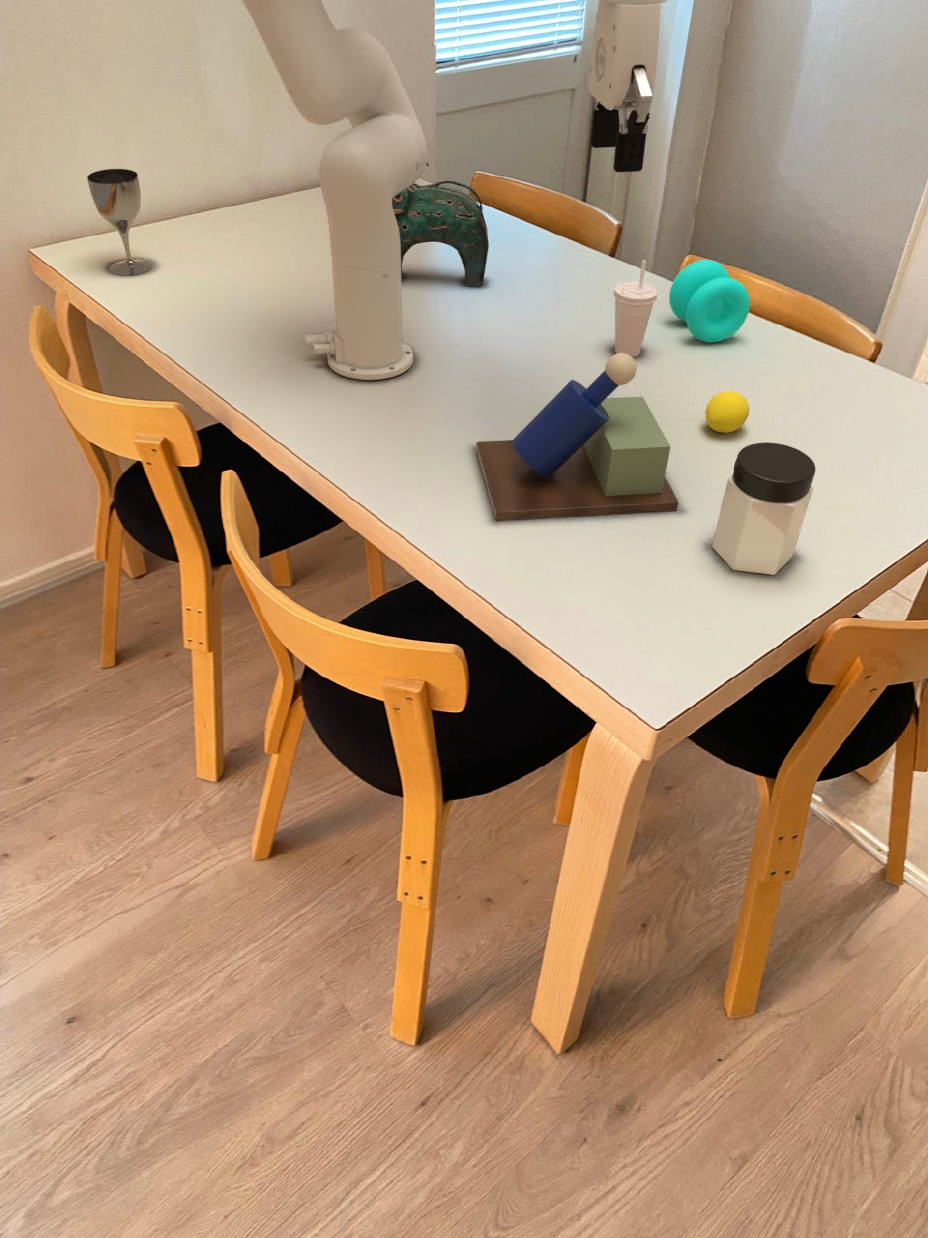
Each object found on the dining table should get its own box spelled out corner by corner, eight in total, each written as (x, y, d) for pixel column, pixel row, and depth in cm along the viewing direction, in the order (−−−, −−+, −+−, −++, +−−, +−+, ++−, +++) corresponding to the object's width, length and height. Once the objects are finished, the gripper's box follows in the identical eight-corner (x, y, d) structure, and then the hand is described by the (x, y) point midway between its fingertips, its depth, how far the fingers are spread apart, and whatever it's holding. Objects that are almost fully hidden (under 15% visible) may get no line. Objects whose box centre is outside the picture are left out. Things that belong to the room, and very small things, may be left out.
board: (495, 520, 114) (496, 512, 113) (476, 449, 126) (476, 441, 125) (677, 510, 116) (678, 502, 115) (641, 441, 128) (642, 433, 127)
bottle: (515, 487, 117) (524, 370, 107) (506, 459, 122) (514, 345, 112) (626, 482, 118) (645, 366, 108) (613, 454, 123) (630, 341, 113)
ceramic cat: (369, 282, 166) (364, 157, 152) (376, 268, 170) (372, 145, 157) (485, 291, 164) (490, 165, 151) (488, 276, 169) (494, 153, 156)
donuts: (685, 347, 150) (696, 283, 143) (661, 320, 157) (672, 258, 150) (745, 343, 151) (759, 279, 145) (719, 316, 159) (732, 255, 152)
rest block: (605, 496, 116) (611, 449, 112) (582, 444, 125) (588, 398, 121) (661, 493, 117) (670, 446, 112) (635, 441, 126) (642, 396, 121)
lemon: (725, 446, 128) (733, 409, 124) (691, 430, 131) (698, 394, 127) (754, 428, 131) (764, 392, 128) (721, 413, 134) (729, 377, 131)
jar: (737, 521, 115) (760, 431, 107) (802, 549, 111) (830, 458, 103) (699, 555, 109) (720, 464, 102) (765, 586, 106) (792, 493, 98)
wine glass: (164, 265, 169) (148, 174, 159) (129, 279, 164) (110, 186, 154) (132, 255, 172) (114, 165, 162) (97, 269, 167) (76, 177, 157)
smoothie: (646, 363, 145) (661, 270, 136) (604, 358, 146) (615, 266, 137) (649, 344, 150) (663, 254, 141) (607, 340, 151) (619, 249, 142)
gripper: (577, -29, 107) (565, 139, 118) (621, -4, 94) (603, 182, 105) (643, -30, 108) (625, 137, 119) (695, -5, 95) (670, 179, 106)
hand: (615, 158), depth 112 cm, fingers open, 9 cm apart
